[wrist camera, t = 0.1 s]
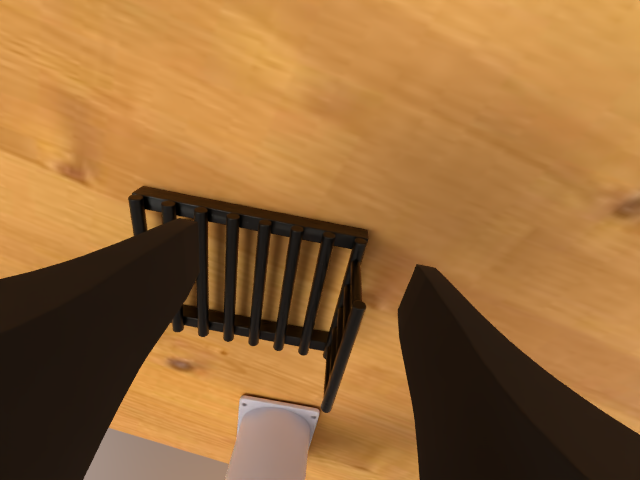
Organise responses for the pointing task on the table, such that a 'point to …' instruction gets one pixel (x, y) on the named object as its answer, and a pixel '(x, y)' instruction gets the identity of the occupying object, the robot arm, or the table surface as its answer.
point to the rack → (266, 223)
